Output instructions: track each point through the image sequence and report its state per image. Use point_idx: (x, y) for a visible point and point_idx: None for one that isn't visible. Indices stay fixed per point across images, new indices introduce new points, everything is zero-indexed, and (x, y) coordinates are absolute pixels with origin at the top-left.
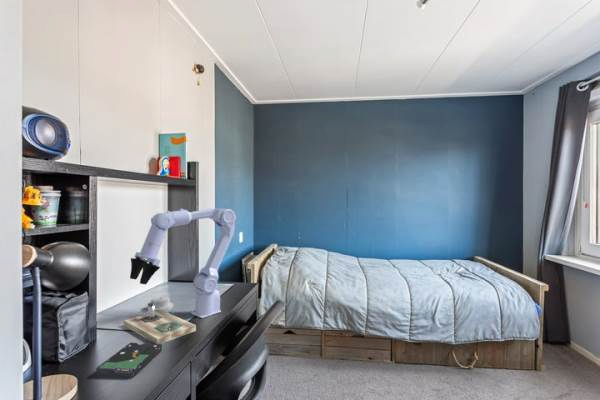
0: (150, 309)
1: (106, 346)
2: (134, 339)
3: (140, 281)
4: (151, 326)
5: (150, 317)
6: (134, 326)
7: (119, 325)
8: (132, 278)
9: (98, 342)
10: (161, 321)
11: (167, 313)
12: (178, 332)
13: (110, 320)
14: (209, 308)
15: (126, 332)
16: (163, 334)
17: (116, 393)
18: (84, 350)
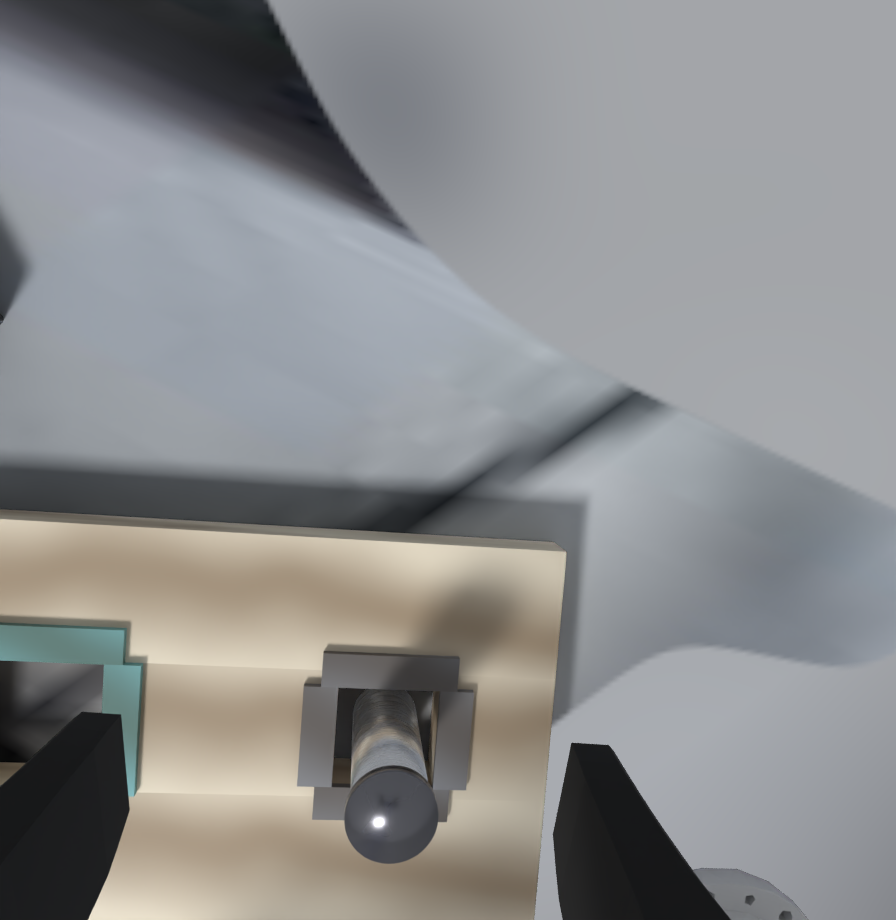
0: (362, 761)
1: (235, 235)
2: (175, 446)
3: (82, 734)
4: (187, 631)
5: (362, 724)
6: (336, 537)
7: (597, 522)
8: (566, 777)
9: (374, 234)
10: (230, 759)
11: (386, 912)
12: None
13: (784, 530)
14: None
15: (385, 480)
16: None
17: None
18: (308, 94)
